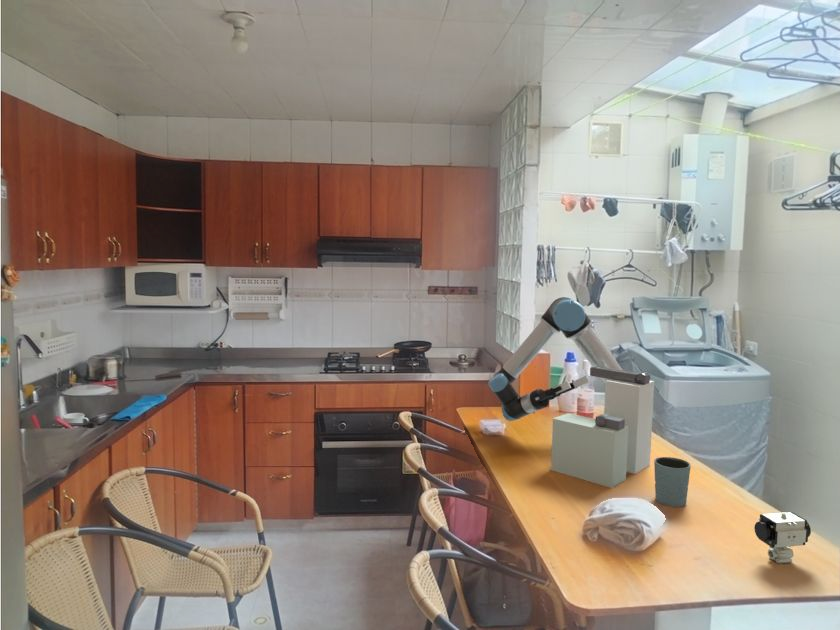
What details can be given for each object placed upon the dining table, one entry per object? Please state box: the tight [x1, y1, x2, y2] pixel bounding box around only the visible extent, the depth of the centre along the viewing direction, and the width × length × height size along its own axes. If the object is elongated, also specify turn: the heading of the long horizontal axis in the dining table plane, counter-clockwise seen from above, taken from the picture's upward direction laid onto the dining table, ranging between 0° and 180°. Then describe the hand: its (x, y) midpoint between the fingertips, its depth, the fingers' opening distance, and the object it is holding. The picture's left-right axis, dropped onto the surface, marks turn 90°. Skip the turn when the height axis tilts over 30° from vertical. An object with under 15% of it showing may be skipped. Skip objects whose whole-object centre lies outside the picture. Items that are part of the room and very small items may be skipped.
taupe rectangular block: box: [603, 379, 655, 475], centre depth 207 cm, size 12×12×30 cm
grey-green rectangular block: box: [550, 412, 629, 489], centre depth 198 cm, size 22×10×21 cm, turn 46°
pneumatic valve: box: [754, 512, 812, 564], centre depth 144 cm, size 6×12×12 cm, turn 99°
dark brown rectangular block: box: [589, 366, 651, 385], centre depth 208 cm, size 20×5×3 cm, turn 46°
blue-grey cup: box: [653, 456, 692, 508], centre depth 178 cm, size 10×10×12 cm
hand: (578, 381), depth 219 cm, fingers open, 13 cm apart
